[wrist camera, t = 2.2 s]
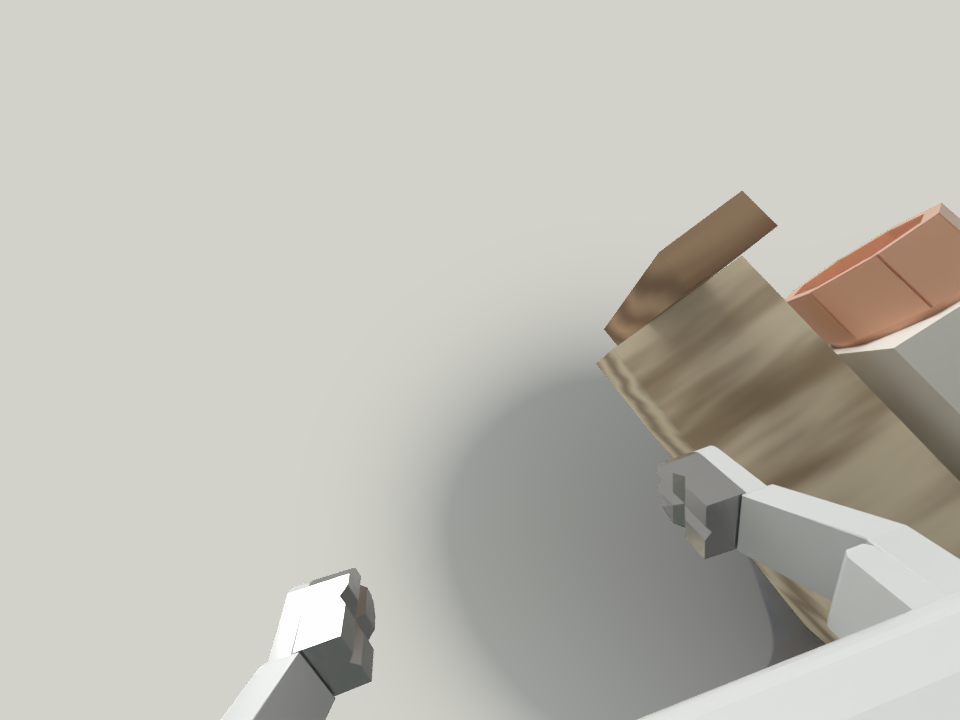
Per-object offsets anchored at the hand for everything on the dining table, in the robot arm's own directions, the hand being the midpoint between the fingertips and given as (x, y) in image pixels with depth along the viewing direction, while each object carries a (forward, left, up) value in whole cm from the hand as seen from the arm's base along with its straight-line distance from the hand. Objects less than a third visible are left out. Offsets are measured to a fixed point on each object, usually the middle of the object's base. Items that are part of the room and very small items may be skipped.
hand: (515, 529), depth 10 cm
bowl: (+21, -23, -6) cm, 32 cm away
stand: (+22, -11, -23) cm, 34 cm away
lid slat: (+18, -12, +3) cm, 22 cm away
